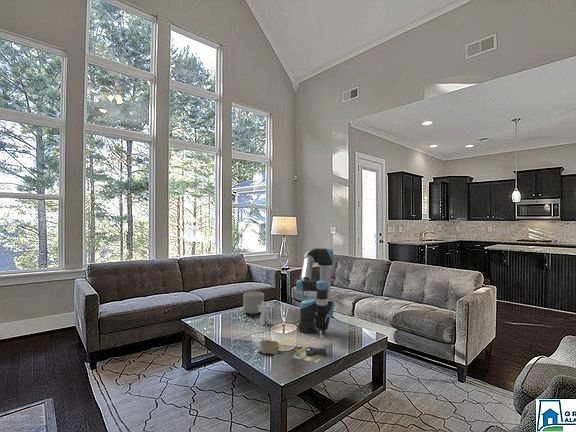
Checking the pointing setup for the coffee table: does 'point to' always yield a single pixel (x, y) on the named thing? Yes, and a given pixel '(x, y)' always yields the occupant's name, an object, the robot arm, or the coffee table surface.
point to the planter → (252, 302)
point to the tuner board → (307, 356)
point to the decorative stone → (268, 347)
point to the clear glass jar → (264, 313)
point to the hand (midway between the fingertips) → (321, 339)
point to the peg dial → (314, 351)
